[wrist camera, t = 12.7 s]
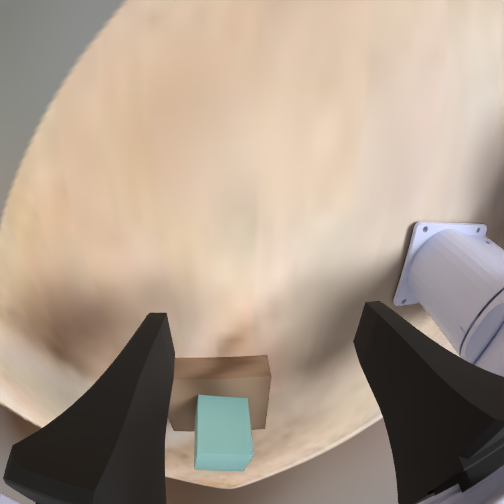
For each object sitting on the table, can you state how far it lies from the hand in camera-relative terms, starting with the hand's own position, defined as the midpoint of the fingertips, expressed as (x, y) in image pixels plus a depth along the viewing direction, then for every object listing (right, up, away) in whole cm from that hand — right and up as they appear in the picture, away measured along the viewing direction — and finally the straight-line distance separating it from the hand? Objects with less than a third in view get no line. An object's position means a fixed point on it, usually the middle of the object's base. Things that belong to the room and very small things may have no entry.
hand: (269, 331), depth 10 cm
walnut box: (-4, -11, +18) cm, 21 cm away
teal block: (-4, -12, +15) cm, 20 cm away
